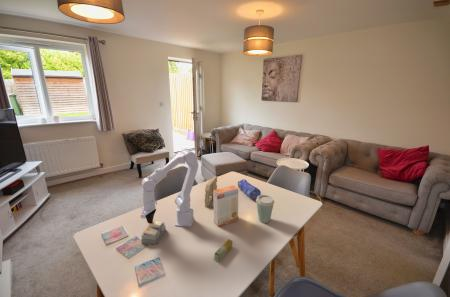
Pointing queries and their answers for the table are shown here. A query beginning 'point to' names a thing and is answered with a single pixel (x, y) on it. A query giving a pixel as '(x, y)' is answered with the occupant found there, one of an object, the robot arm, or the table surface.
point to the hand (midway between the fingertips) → (150, 222)
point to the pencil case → (249, 189)
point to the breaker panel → (153, 238)
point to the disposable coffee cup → (264, 207)
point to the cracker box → (225, 205)
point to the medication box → (223, 250)
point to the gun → (210, 190)
